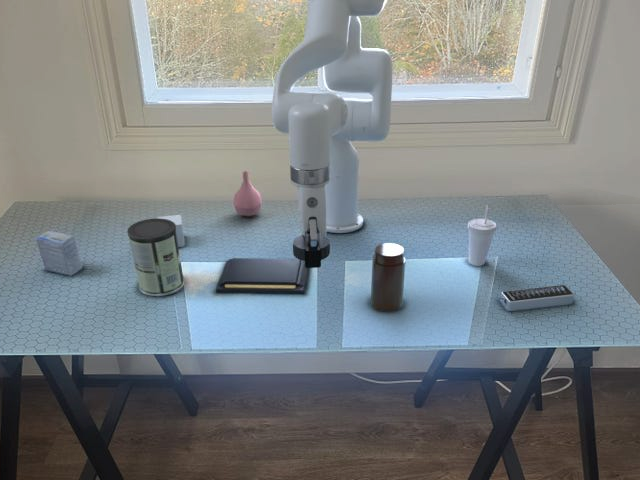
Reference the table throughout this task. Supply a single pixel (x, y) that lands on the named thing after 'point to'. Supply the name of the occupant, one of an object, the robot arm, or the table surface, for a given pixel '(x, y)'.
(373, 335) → the table surface
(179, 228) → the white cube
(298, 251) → the lid
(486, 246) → the smoothie
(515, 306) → the multiport hub
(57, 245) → the medicine box
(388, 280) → the jar
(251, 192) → the pink teardrop shaped piece
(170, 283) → the coffee can
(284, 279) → the wallet
